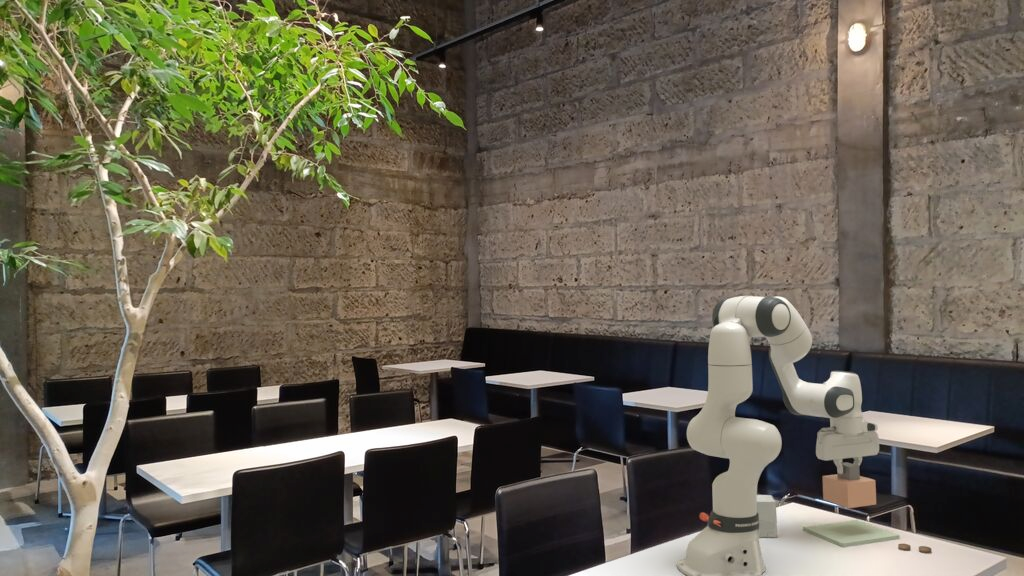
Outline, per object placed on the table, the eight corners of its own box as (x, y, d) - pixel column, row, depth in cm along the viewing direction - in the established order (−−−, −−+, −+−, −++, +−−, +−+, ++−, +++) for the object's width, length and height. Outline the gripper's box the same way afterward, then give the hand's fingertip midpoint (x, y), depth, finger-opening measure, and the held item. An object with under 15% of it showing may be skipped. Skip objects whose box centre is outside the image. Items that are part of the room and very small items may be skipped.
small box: (777, 538, 210) (776, 501, 210) (757, 537, 211) (756, 501, 211) (773, 529, 218) (772, 494, 218) (753, 529, 219) (752, 494, 219)
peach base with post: (848, 508, 205) (846, 469, 206) (823, 499, 215) (821, 462, 215) (876, 504, 208) (874, 466, 209) (850, 495, 218) (849, 459, 218)
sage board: (842, 547, 201) (842, 543, 201) (803, 530, 216) (803, 527, 216) (899, 538, 207) (899, 535, 207) (857, 523, 222) (857, 519, 222)
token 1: (906, 552, 196) (905, 547, 196) (895, 549, 199) (895, 544, 199) (913, 550, 197) (913, 546, 197) (903, 547, 200) (902, 542, 200)
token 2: (926, 555, 194) (925, 550, 194) (916, 551, 197) (916, 547, 197) (934, 553, 195) (934, 548, 195) (924, 549, 198) (924, 545, 198)
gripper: (825, 430, 206) (827, 478, 206) (882, 424, 212) (884, 471, 212) (809, 426, 212) (811, 473, 212) (865, 421, 218) (867, 467, 218)
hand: (848, 472), depth 212 cm, fingers closed on peach base with post, 3 cm apart
